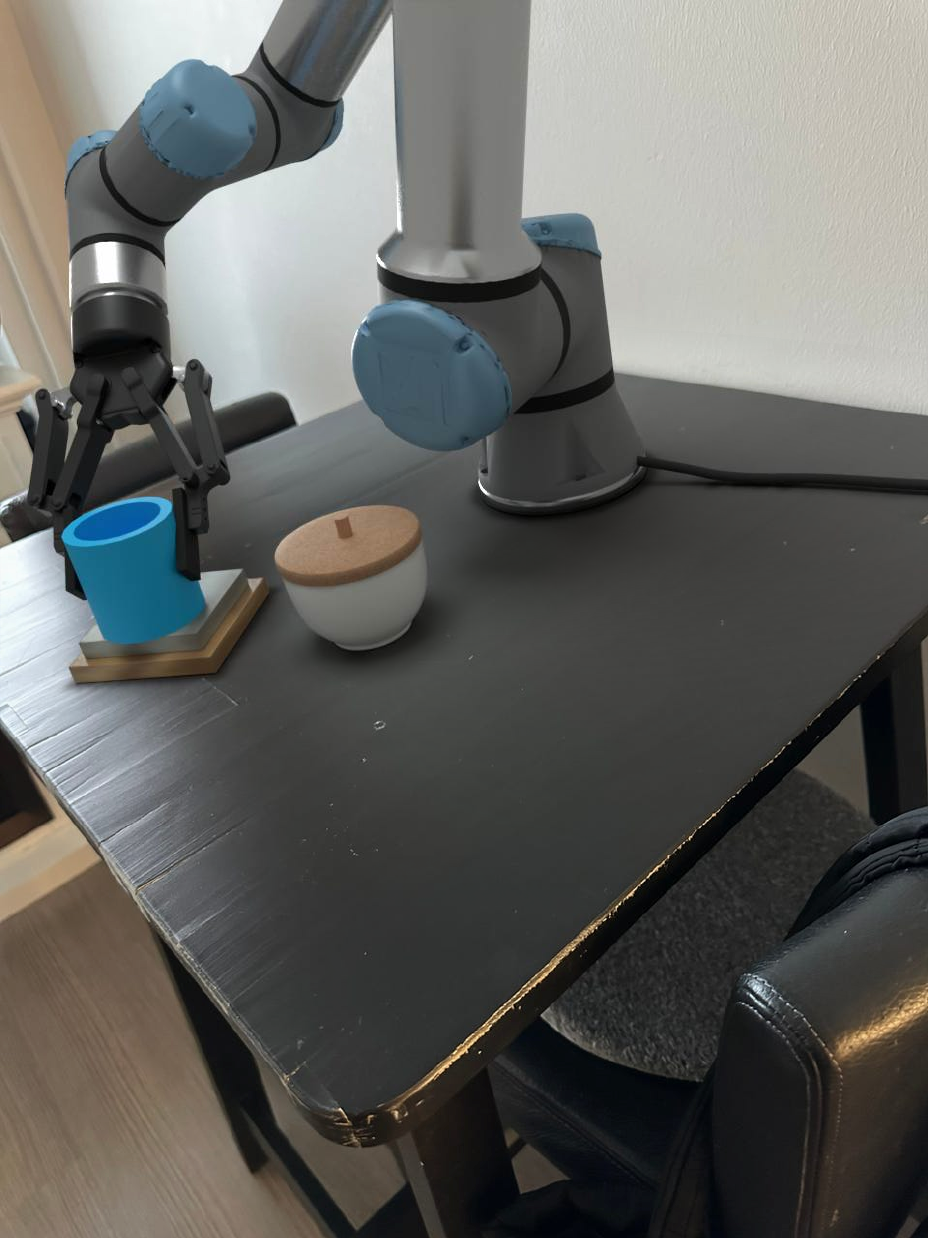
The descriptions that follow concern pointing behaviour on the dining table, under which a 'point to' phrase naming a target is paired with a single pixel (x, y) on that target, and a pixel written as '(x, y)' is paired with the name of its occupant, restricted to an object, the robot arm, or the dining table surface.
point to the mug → (132, 570)
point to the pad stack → (179, 636)
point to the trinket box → (356, 574)
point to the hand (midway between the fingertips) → (134, 585)
